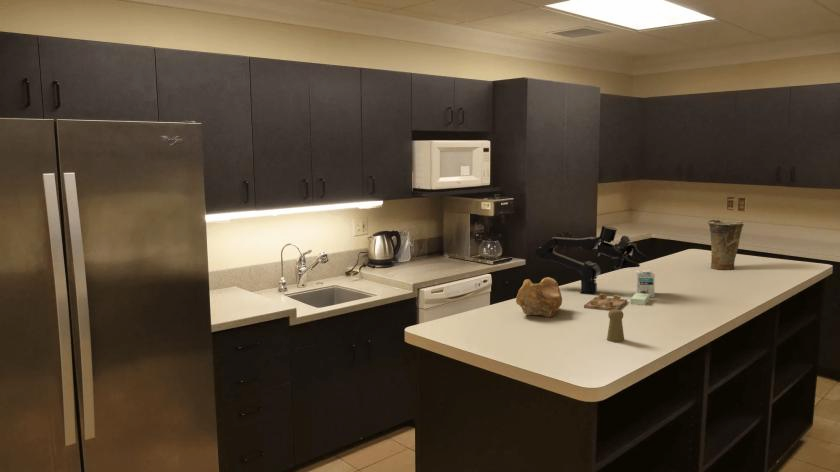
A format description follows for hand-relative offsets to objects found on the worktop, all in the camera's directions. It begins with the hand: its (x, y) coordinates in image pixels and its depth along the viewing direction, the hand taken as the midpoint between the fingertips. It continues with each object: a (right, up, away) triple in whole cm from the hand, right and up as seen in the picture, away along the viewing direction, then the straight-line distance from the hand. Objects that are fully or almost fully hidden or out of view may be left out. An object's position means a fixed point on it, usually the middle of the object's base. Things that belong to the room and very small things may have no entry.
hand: (643, 261), depth 284 cm
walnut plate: (-19, -19, -8) cm, 28 cm away
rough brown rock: (-49, -21, -20) cm, 57 cm away
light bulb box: (+4, -16, +9) cm, 19 cm away
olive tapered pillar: (-31, -26, -59) cm, 72 cm away
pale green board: (-3, -18, -4) cm, 19 cm away
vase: (+69, -7, +67) cm, 96 cm away
